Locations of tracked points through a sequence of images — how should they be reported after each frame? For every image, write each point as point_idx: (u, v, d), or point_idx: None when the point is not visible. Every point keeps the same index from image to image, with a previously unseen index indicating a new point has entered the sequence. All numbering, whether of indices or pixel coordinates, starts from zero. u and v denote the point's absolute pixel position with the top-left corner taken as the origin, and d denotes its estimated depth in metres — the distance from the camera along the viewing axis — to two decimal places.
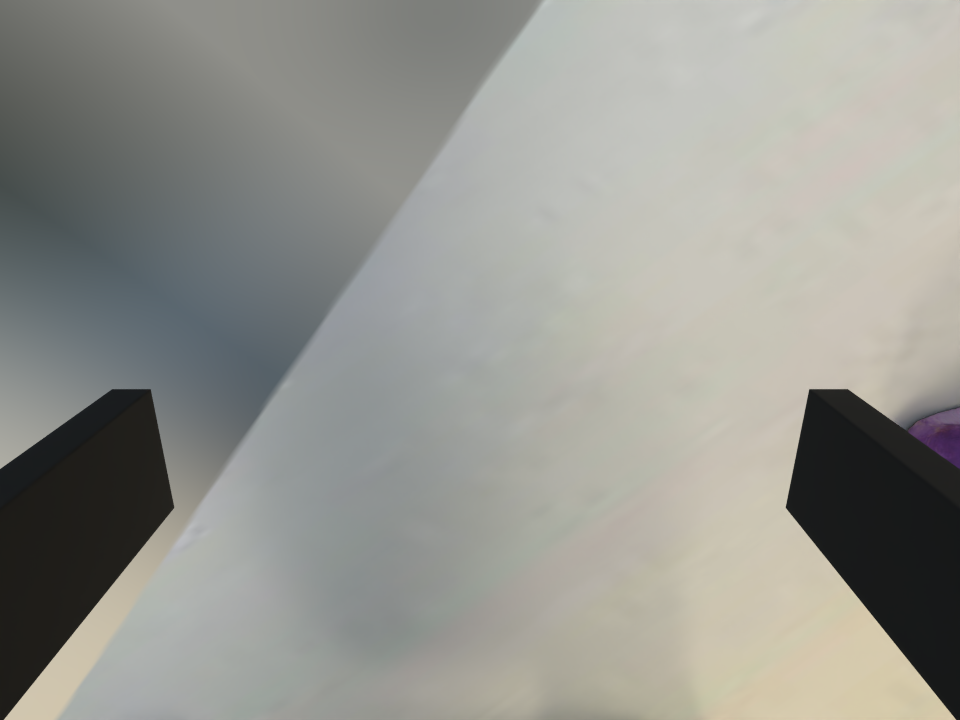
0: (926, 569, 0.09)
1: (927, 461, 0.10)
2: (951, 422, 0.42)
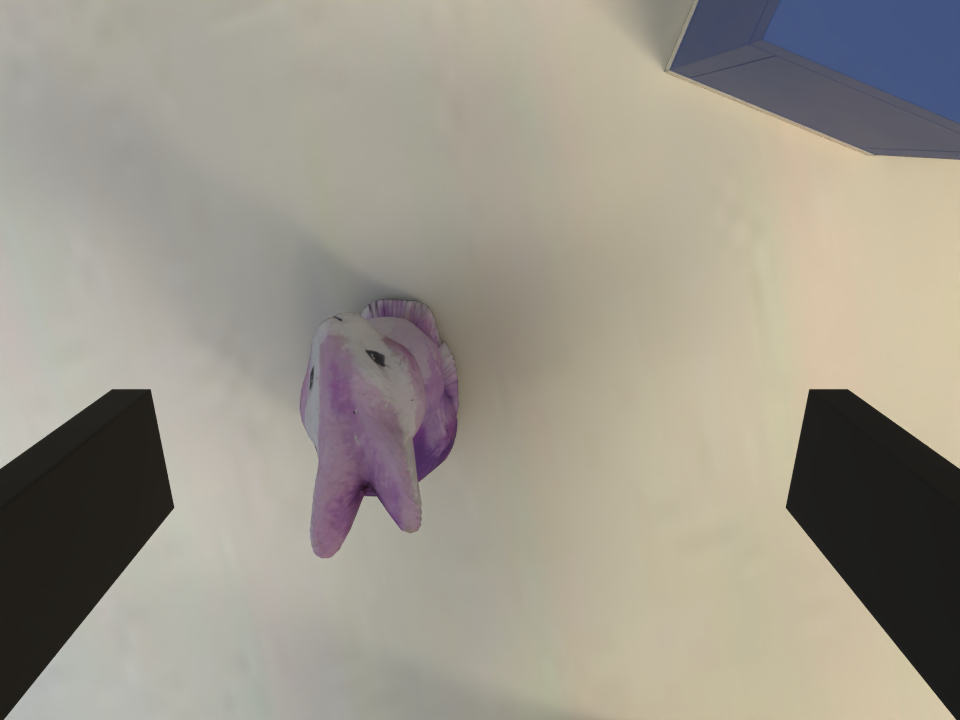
0: (927, 569, 0.09)
1: (927, 461, 0.10)
2: None
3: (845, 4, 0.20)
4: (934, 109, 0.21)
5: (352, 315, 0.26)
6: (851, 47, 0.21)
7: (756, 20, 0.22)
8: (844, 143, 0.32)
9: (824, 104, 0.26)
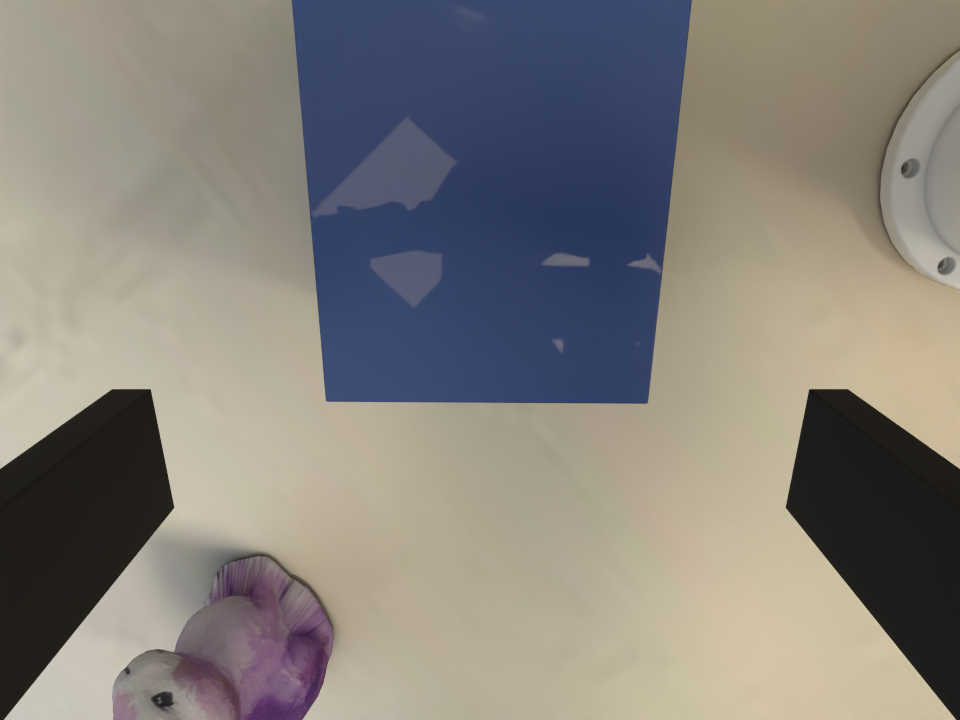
0: (927, 569, 0.09)
1: (927, 461, 0.10)
2: None
3: (379, 355, 0.22)
4: (506, 401, 0.23)
5: (141, 660, 0.30)
6: (405, 381, 0.22)
7: None
8: None
9: None
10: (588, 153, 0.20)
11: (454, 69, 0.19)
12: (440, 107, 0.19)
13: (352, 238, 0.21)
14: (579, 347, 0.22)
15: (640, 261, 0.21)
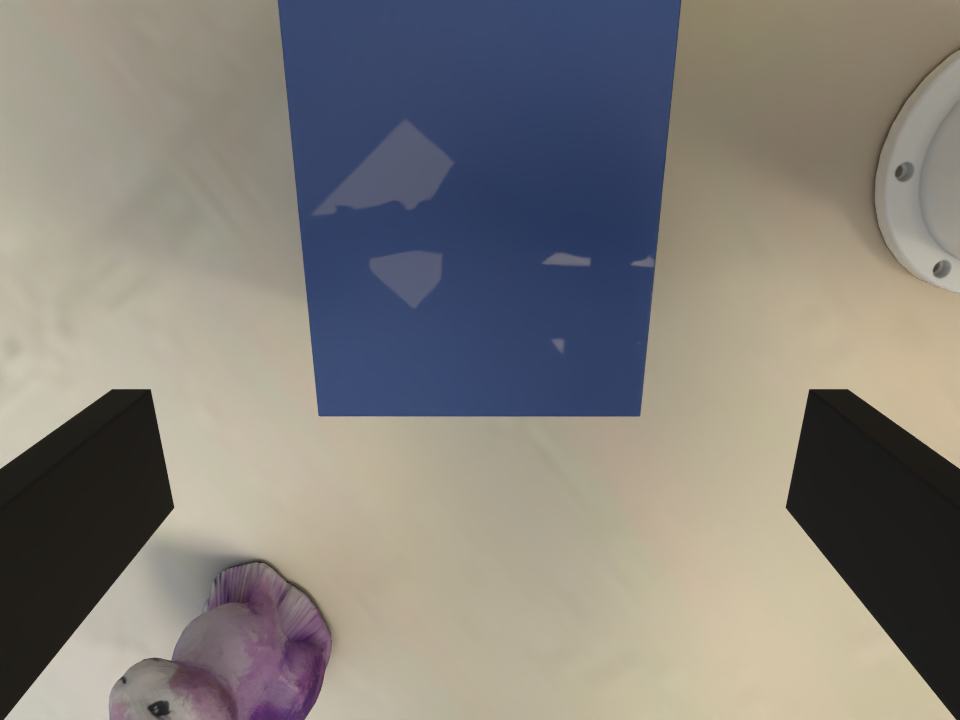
0: (927, 569, 0.09)
1: (927, 461, 0.10)
2: None
3: (371, 370, 0.22)
4: (499, 414, 0.23)
5: (138, 669, 0.30)
6: (397, 396, 0.22)
7: None
8: None
9: None
10: (577, 168, 0.20)
11: (442, 86, 0.19)
12: (429, 124, 0.19)
13: (343, 254, 0.21)
14: (570, 360, 0.22)
15: (631, 275, 0.21)
